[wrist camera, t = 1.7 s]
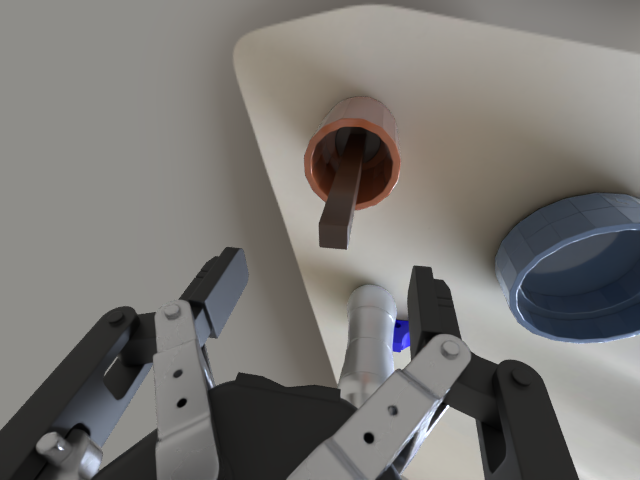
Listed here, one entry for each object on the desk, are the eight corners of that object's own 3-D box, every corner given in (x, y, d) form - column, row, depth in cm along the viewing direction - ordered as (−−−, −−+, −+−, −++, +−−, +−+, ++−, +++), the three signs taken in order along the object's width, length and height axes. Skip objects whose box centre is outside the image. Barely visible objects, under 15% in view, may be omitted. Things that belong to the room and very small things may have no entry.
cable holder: (388, 334, 47) (388, 357, 44) (390, 319, 45) (390, 342, 42) (443, 340, 46) (447, 364, 42) (447, 324, 44) (452, 348, 40)
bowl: (520, 185, 31) (544, 216, 26) (702, 195, 28) (767, 231, 23) (477, 294, 40) (490, 332, 35) (613, 309, 37) (646, 352, 32)
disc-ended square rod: (336, 115, 29) (291, 198, 16) (383, 116, 29) (377, 204, 15) (336, 159, 32) (296, 264, 18) (378, 161, 31) (371, 271, 18)
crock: (320, 95, 29) (301, 117, 23) (402, 96, 28) (406, 119, 22) (322, 171, 34) (306, 207, 27) (393, 174, 32) (394, 213, 26)
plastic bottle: (378, 271, 40) (371, 436, 24) (405, 302, 43) (416, 472, 27) (339, 289, 43) (311, 446, 27) (367, 317, 46) (356, 477, 30)
